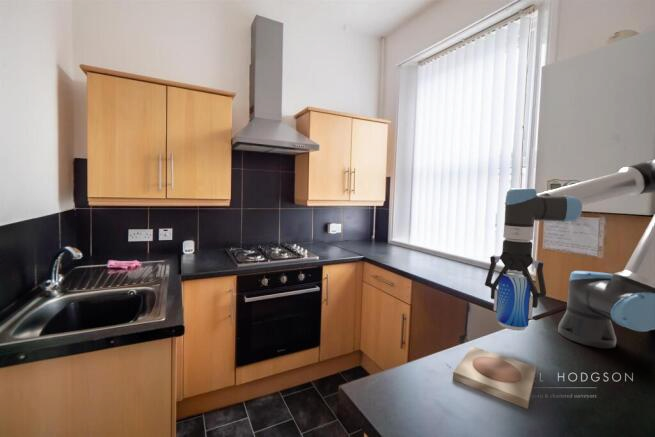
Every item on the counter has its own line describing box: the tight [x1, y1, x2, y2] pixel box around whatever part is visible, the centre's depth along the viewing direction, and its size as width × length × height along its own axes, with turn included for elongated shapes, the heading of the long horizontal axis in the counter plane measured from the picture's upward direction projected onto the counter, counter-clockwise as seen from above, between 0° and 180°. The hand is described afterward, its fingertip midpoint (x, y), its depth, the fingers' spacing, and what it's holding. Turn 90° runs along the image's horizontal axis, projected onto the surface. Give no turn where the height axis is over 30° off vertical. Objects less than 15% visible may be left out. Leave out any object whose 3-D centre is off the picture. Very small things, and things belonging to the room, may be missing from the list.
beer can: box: [495, 271, 532, 332], centre depth 92 cm, size 8×8×16 cm
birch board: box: [452, 345, 537, 410], centre depth 79 cm, size 16×18×2 cm
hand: (512, 313), depth 93 cm, fingers closed on beer can, 8 cm apart
